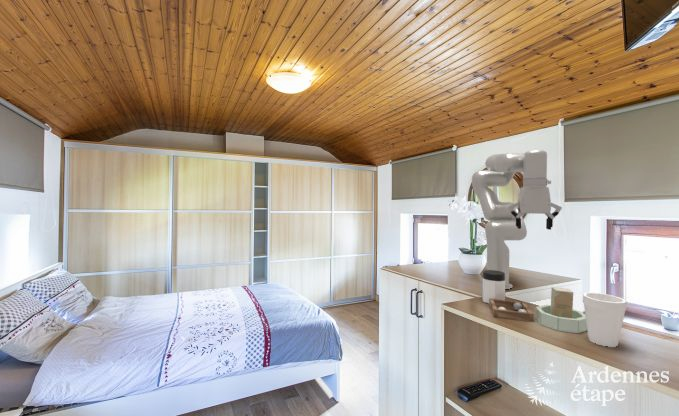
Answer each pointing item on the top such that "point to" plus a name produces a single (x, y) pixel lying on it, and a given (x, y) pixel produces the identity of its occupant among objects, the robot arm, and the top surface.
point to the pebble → (517, 306)
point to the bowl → (561, 320)
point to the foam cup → (604, 318)
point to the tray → (510, 314)
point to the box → (561, 302)
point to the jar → (493, 285)
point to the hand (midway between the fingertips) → (533, 228)
